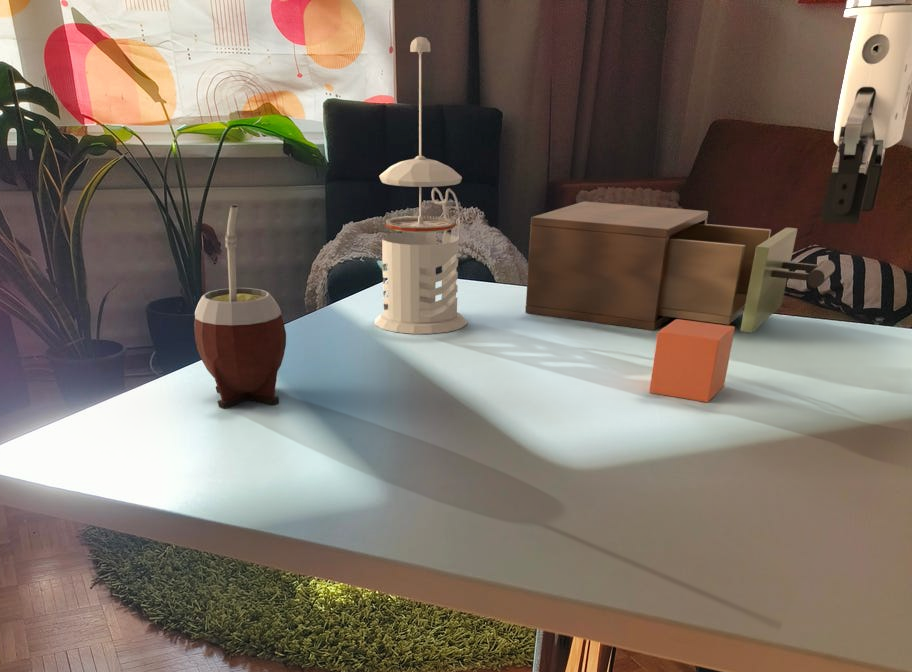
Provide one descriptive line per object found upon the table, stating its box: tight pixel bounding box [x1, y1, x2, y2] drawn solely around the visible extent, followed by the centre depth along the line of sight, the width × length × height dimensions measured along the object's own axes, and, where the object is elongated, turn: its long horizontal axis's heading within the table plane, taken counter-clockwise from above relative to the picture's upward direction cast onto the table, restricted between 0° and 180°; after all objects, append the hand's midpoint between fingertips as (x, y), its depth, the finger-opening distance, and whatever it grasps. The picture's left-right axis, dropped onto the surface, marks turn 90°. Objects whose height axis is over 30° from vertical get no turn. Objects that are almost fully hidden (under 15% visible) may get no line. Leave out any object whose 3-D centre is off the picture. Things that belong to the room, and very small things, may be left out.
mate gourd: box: [193, 203, 287, 409], centre depth 68 cm, size 8×8×15 cm
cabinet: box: [524, 201, 709, 331], centre depth 98 cm, size 15×15×10 cm
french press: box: [374, 36, 468, 335], centre depth 88 cm, size 10×12×25 cm
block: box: [648, 318, 736, 403], centre depth 74 cm, size 5×5×5 cm
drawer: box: [658, 223, 836, 334], centre depth 92 cm, size 18×13×8 cm
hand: (847, 216), depth 85 cm, fingers open, 9 cm apart
